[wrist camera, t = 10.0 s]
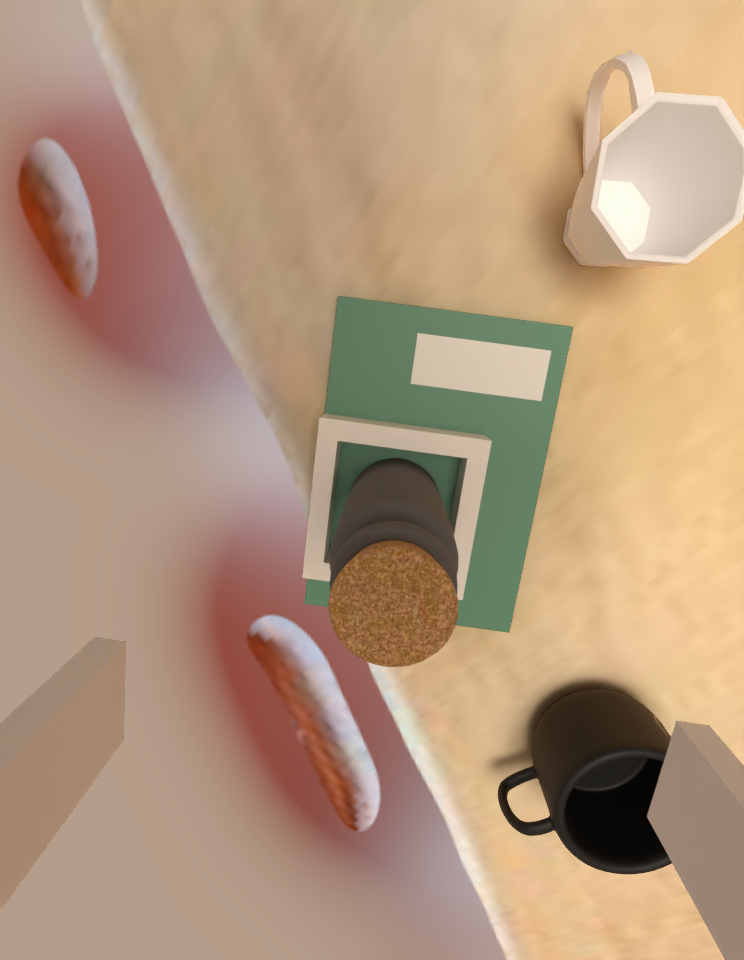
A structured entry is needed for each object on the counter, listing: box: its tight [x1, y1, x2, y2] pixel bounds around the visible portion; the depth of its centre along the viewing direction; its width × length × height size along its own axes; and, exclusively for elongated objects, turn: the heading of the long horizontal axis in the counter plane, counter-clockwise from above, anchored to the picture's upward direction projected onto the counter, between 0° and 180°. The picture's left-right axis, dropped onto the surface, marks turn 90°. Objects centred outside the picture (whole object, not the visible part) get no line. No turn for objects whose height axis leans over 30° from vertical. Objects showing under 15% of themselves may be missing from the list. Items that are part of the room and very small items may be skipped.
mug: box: [498, 689, 672, 874], centre depth 34 cm, size 12×9×7 cm
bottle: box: [328, 458, 458, 667], centre depth 26 cm, size 6×6×15 cm
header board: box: [302, 296, 573, 632], centre depth 32 cm, size 20×14×3 cm
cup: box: [563, 51, 744, 268], centre depth 26 cm, size 7×10×8 cm
